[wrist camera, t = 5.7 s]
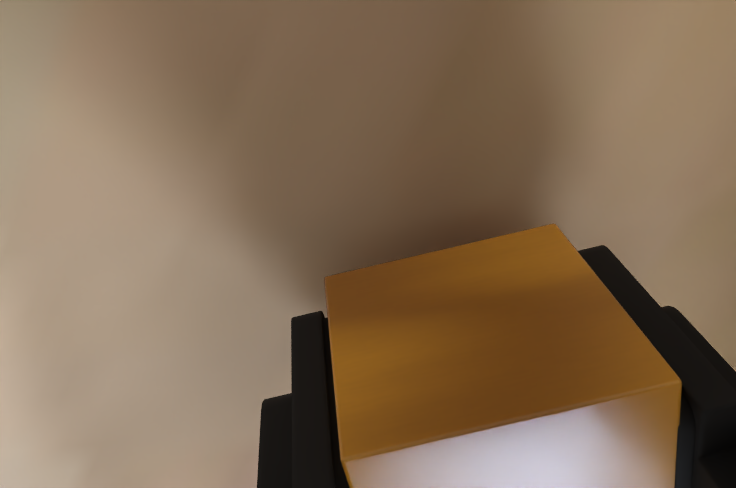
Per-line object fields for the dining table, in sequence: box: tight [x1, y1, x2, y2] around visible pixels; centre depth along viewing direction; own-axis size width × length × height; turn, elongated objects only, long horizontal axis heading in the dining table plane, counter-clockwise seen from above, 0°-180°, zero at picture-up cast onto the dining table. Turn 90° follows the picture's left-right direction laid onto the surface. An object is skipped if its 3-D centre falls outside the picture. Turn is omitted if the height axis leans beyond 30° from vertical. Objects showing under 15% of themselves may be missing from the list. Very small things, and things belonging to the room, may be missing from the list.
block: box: [324, 224, 682, 488], centre depth 10 cm, size 4×4×4 cm
